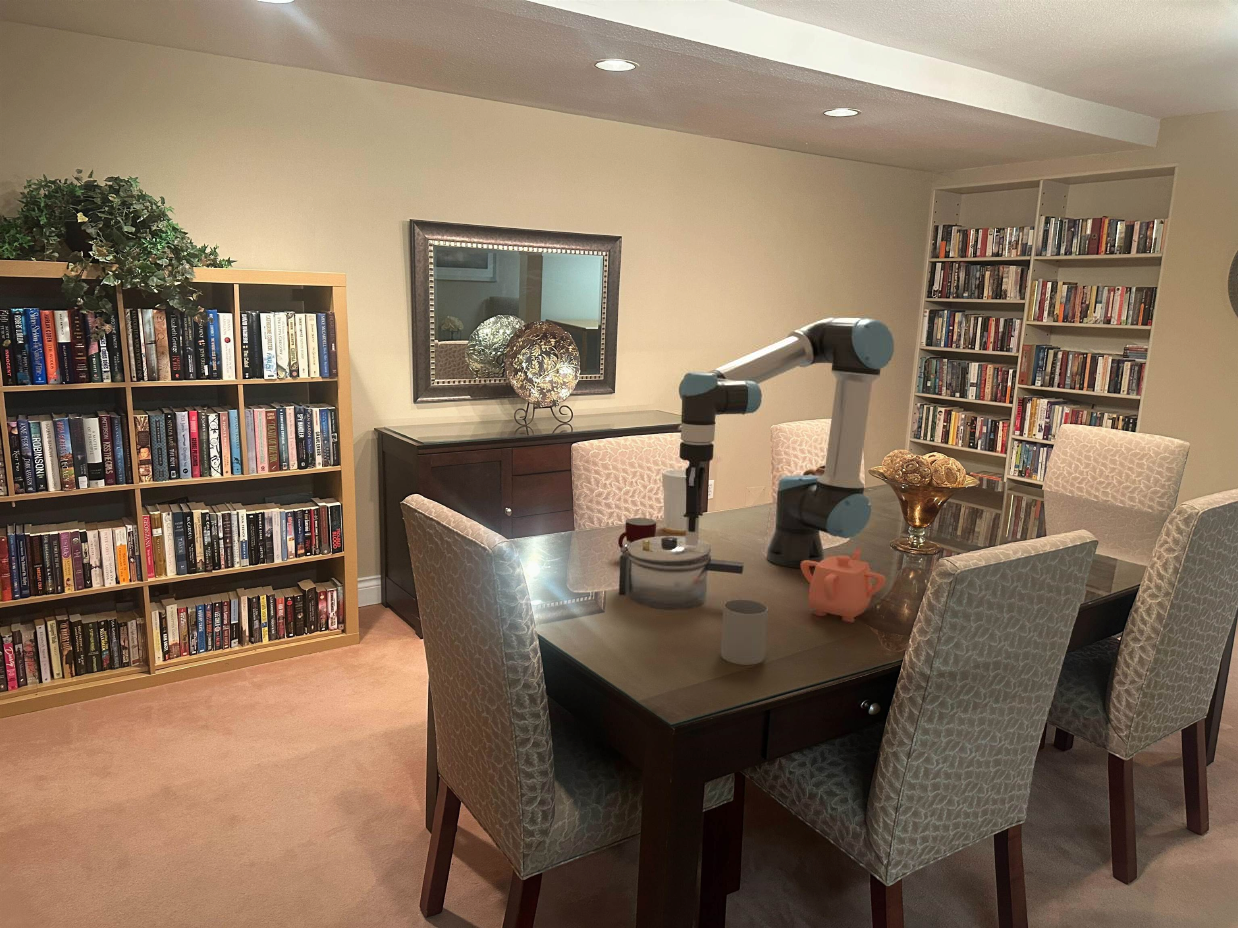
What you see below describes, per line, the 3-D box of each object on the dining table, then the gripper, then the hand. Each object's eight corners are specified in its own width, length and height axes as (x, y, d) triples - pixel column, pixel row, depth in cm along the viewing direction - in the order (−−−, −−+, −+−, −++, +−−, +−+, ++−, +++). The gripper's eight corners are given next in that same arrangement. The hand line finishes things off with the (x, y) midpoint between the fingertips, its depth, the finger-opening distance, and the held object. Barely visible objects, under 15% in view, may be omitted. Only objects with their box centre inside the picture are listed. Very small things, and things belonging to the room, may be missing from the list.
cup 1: (704, 529, 264) (707, 472, 261) (686, 536, 255) (689, 478, 252) (671, 522, 270) (673, 467, 267) (652, 530, 261) (655, 473, 258)
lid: (715, 541, 208) (715, 529, 207) (705, 564, 189) (705, 550, 189) (631, 538, 212) (631, 526, 212) (613, 560, 194) (613, 547, 193)
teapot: (824, 627, 186) (829, 568, 184) (790, 602, 201) (794, 547, 199) (893, 622, 191) (898, 564, 188) (855, 598, 206) (860, 544, 203)
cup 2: (717, 647, 173) (720, 599, 172) (758, 647, 174) (761, 599, 172) (726, 664, 165) (729, 614, 163) (768, 664, 166) (772, 614, 164)
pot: (744, 590, 208) (746, 550, 206) (736, 618, 190) (739, 573, 188) (629, 578, 214) (631, 539, 212) (611, 604, 196) (613, 561, 194)
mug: (629, 565, 225) (631, 528, 223) (610, 557, 231) (612, 521, 229) (661, 559, 231) (662, 522, 230) (641, 552, 238) (643, 516, 236)
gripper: (684, 436, 202) (679, 535, 206) (675, 445, 189) (670, 550, 194) (717, 439, 200) (711, 538, 205) (710, 447, 188) (704, 553, 192)
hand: (691, 544), depth 199 cm, fingers closed
